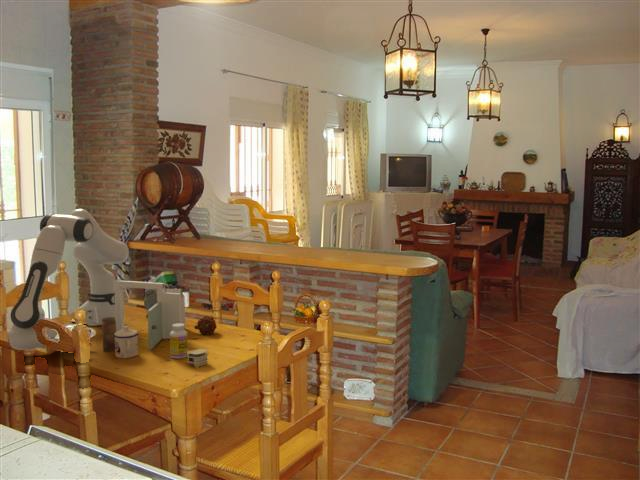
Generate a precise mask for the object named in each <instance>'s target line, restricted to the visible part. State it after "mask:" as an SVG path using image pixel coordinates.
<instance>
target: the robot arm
mask: <svg viewBox="0 0 640 480" xmlns="http://www.w3.org/2000/svg"><path fill="white" fill-rule="evenodd" d="M39 231H40V232H39V234H38V237H36V241H35V244H34V247H33V249H32V250H33V251H32V255H31V259H30V265H29V271H28V274H27V276H26V277H27V278H26V281H25V285H24V286H23V290H22V293H21V296H20V297H19V300H18V301H17V302H16V304H15V305H14V306H13V307H12V309H11V312H10V320H11V323H13V324H12V326H11V328H10V329H9V330H8V331H7V341H8V344H9V346H10V347H11V348H12V349H14V350H19V351H20V350H22V351H25V350H27V351H28V350H36V349H48V348H47V347H46V346H45V345H43V344H41V343H40V342H39V341H38V339H37V335H36V332H35V330H34V329H33V328H32V327H34V326H35V325H36V324H37V323H38V321H39V320H40V319H44V320H45V318H46V315H45V314H46V312H45V310H44V308H43V307H42V306H41V305H39V300H40V297H41V293H42V290H43V288H44V284H45V282H46V280H47V279H48V278H49V277H50V276H52V274H54V273H56V272H57V271H58V268H59V266H60V264H61V261H62V259H63V255H64V250H65V245H66V244H65V243H66V242H71V243H72V242H74V243H76V244H75V246H74V248H73V256H74V258H75V260H76V261H77V262H79V263H80V264H81V265H82V267H84V268H85V270H86V272H87V275H88V276H89V277H88V278H89V284H90V292H89V293H87V294H86V295H85V298H88V299H87V300H86V301H85V302H84V303H83V304H82V305H81V306H79V307H78V308H77V310H79V309H83V310H86V320H85V322H86V324H88V325H87V326H91V327H94V326H95V327H96V326H102V319H103V318H106V317H114V318H115V323H116V310H115V287H114V281H116V277H115V275H114V274H113V273H112V272H111V271H109V270H107V268H106V267H105V266H104V265H105V264H106V265H117V264H122V263H125V262H126V261H127V259H128V258H129V254H130V250H129V247H128V245H127V244H126V243H125V242H124V241H120V240H118V239H116V238H113V237H112V236H110V235H109V234H107V233H106V232H105V231H103V229H102V228H101V226H100V225H99V223H98V222H97V220H96V219H95V218H94V217H93V215H91V213H90V212H88V211H87V210H86V209H84V208H76V209H74V210H72V211H71V212H70V213H69V214H57V213H48V214H46V215H44V216H43V217H42V218H41V220H40V223H39ZM71 321H73V322H75V320H74V318H72V319H71V320H70V322H71ZM59 324H60V325H62V326H63V327H65V328H68V329H69V330H71V328H72V327H74V326H76V325H77V323H76V322H75V323H74V324H73V323H71V324H69V323H67V324H61V323H59ZM88 329H89V332H90V334H92V329H91V328H88ZM46 333H47V335H48V337H50V338H51V339H54V340H56V341H58V340H59V336H58V334H57V332H56V331H55V330H52V329H50V330H47V331H46ZM90 334H89V335H90Z"/></svg>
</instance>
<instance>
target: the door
mask: <svg viewBox="0 0 640 480" xmlns="http://www.w3.org/2000/svg"><path fill="white" fill-rule="evenodd" d="M147 312H148V317H147V331H148V334H147V335H148V349H149V350H152V349H153V348H154V347H155V346H156V345H157V344H158V343H159V342H160V341H161V340H162V338H163V334H162V303H161V302H157V303H156V304H155V305H154V306H153V307H151V308H150V309H149V310H148V311H147Z"/></svg>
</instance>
